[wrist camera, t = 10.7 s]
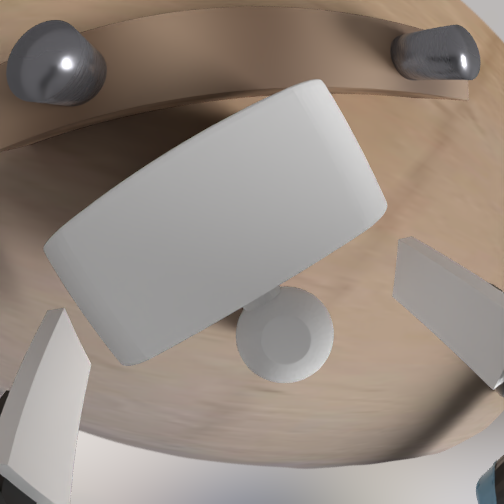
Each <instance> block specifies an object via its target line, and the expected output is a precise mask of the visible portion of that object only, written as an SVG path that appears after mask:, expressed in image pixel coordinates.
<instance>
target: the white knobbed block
mask: <svg viewBox="0 0 504 504" xmlns="http://www.w3.org/2000/svg"><path fill="white" fill-rule="evenodd" d="M386 209H387V202H386V200H385V198H384V196H383V193H382V191H381V189H380V187H379V185H378V183H377V180H376V178H375V176H374V174H373V172H372V170H371V168H370V166H369V164H368V162H367V160H366V158H365V156H364V154H363V152H362V150H361V148H360V146H359V144H358V142H357V140H356V138H355V136H354V134H353V133H352V131H351V129H350V127H349V125H348V123H347V121H346V120H345V118H344V116H343V114H342V113H341V111H340V109H339V107H338V106H337V104H336V102H335V100H334V99H333V97H332V95H331V94H330V92H329V90H328V89H327V87H326V85H325V84H324V83H323V82H322V80H320V79H314V80H309V81H305V82H302V83H299V84H296V85H293V86H291V87H288V88H286V89H284V90H282V91H280V92H277V93H275V94H273V95H271V96H269V97H267V98H265V99H263V100H261V101H259V102H257V103H254V104H252V105H250V106H248V107H246V108H245V109H243V110H241V111H239V112H237V113H235V114H233V115H231V116H229V117H227V118H225V119H223V120H222V121H220V122H218V123H216V124H214V125H212V126H211V127H209V128H207V129H205V130H203V131H202V132H200V133H198V134H196V135H195V136H193V137H191V138H190V139H188V140H186V141H185V142H183V143H181V144H180V145H178V146H176V147H175V148H173V149H171V150H170V151H168V152H166V153H165V154H163V155H162V156H160V157H158V158H157V159H155V160H154V161H152V162H151V163H149V164H148V165H146V166H144V167H143V168H141V169H140V170H138V171H137V172H135V173H134V174H132V175H131V176H129V177H128V178H127V179H125V180H124V181H122V182H121V183H119V184H118V185H116V186H115V187H114V188H112V189H111V190H109V191H108V192H107V193H105V194H104V195H102V196H101V197H100V198H98V199H97V200H96V201H94V202H93V203H92V204H90V205H89V206H88V207H86V208H85V209H84V210H82V211H81V212H80V213H78V214H77V215H76V216H75V217H73V218H72V219H71V220H69V221H68V222H67V223H66V224H64V225H63V226H62V227H61V228H60V229H59V230H57V231H56V232H55V233H54V234H53V235H52V236H51V237H50V238H49V239H48V241H47V242H46V244H45V245H44V252H45V254H46V256H47V258H48V259H49V261H50V263H51V265H52V266H53V268H54V270H55V271H56V273H57V275H58V276H59V278H60V279H61V281H62V283H63V284H64V286H65V287H66V289H67V290H68V292H69V293H70V295H71V296H72V298H73V299H74V301H75V302H76V304H77V305H78V307H79V308H80V310H81V311H82V313H83V314H84V316H85V317H86V318H87V320H88V321H89V323H90V324H91V325H92V327H93V328H94V330H95V331H96V332H97V334H98V335H99V336H100V338H101V339H102V340H103V342H104V343H105V344H106V345H107V347H108V348H109V349H110V351H111V352H112V353H113V354H114V356H115V357H116V358H117V359H118V361H119V362H120V363H121V364H122V365H125V366H131V365H136V364H139V363H142V362H144V361H147V360H149V359H151V358H153V357H155V356H156V355H158V354H160V353H162V352H164V351H166V350H167V349H169V348H171V347H173V346H175V345H177V344H178V343H180V342H182V341H184V340H186V339H187V338H189V337H191V336H193V335H195V334H196V333H198V332H200V331H202V330H203V329H205V328H207V327H209V326H210V325H212V324H214V323H216V322H217V321H219V320H221V319H223V318H224V317H226V316H228V315H230V314H231V313H233V312H235V311H236V310H238V309H240V308H242V307H243V308H244V309H243V311H242V313H241V315H240V317H239V320H238V323H237V328H236V343H237V347H238V351H239V353H240V356H241V357H242V359H243V361H244V363H245V364H246V365H247V366H248V368H249V369H251V370H252V371H253V372H254V373H255V374H257V375H258V376H260V377H262V378H264V379H266V380H269V381H272V382H277V383H291V382H296V381H300V380H303V379H305V378H307V377H309V376H310V375H312V374H313V373H315V372H316V371H317V370H318V369H319V368H320V367H321V366H322V365H323V364H324V362H325V361H326V360H327V358H328V356H329V354H330V352H331V348H332V345H333V339H334V329H333V323H332V320H331V317H330V314H329V312H328V311H327V309H326V307H325V306H324V305H323V303H322V302H321V301H320V300H319V299H318V298H317V297H315V296H314V295H313V294H311V293H309V292H307V291H305V290H302V289H300V288H296V287H288V286H286V287H280V286H279V285H280V284H282V283H283V282H285V281H287V280H288V279H290V278H292V277H293V276H295V275H297V274H298V273H300V272H301V271H303V270H305V269H306V268H308V267H310V266H311V265H313V264H314V263H316V262H318V261H319V260H321V259H322V258H324V257H326V256H327V255H329V254H330V253H332V252H333V251H335V250H337V249H338V248H340V247H341V246H343V245H344V244H346V243H348V242H349V241H351V240H352V239H354V238H355V237H357V236H358V235H360V234H361V233H363V232H364V231H366V230H367V229H369V228H370V227H371V226H372V225H374V224H375V223H376V222H377V221H378V220H379V219H380V218H381V217H382V216H383V214H384V213H385V211H386Z"/></svg>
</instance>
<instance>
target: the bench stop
mask: <svg viewBox="0 0 504 504" xmlns="http://www.w3.org/2000/svg"><path fill="white" fill-rule="evenodd" d="M479 70H480V55H479V51H478V48H477V45H476V43H475V41H474V39H473V37H472V36H471V35H470V33H469V32H468V31H467V30H466V29H465V28H463V27H462V26H459V25H450V26H444V27H438V28H432V29H427V30H423V29H419V28H416V27H412V26H408V25H404V24H400V23H396V22H392V21H387V20H383V19H378V18H373V17H368V16H362V15H356V14H350V13H343V12H336V11H328V10H318V9H307V8H293V7H263V6H251V7H222V8H207V9H196V10H187V11H179V12H171V13H165V14H158V15H152V16H147V17H141V18H136V19H132V20H127V21H122V22H118V23H114V24H110V25H106V26H102V27H98V28H95V29H91V30H88V31H84V32H81V33H79V32H78V31H77V30H76V29H75V28H74V27H73V26H72V25H70V24H69V23H67V22H64V21H60V20H51V21H46V22H43V23H40V24H38V25H36V26H34V27H33V28H31V29H30V30H28V31H27V32H26V33H25V34H24V35H23V36H22V37H21V38H20V39H19V40H18V42H17V43H16V44H15V46H14V48H13V49H12V51H11V54H10V56H9V59H8V61H6V62H4V63H2V64H0V152H2V151H6V150H10V149H14V148H18V147H22V146H27V145H30V144H33V143H36V142H39V141H41V140H44V139H47V138H50V137H53V136H56V135H59V134H63V133H66V132H69V131H72V130H76V129H79V128H83V127H86V126H90V125H93V124H97V123H101V122H105V121H109V120H113V119H117V118H121V117H125V116H130V115H134V114H139V113H144V112H148V111H153V110H159V109H164V108H170V107H175V106H181V105H187V104H194V103H201V102H208V101H216V100H224V99H233V98H243V97H255V96H268V95H273V94H275V93H277V92H280V91H282V90H284V89H286V88H288V87H291V86H293V85H296V84H299V83H302V82H305V81H309V80H314V79H320V80H322V82H323V83H324V84H325V85H326V87H327V89H328V90H329V92H330V93H332V94H370V95H387V96H400V97H411V98H431V99H451V100H465V101H469V91H468V80H473V79H475V78H476V77H477V75H478V73H479Z"/></svg>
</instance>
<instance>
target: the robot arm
mask: <svg viewBox="0 0 504 504" xmlns="http://www.w3.org/2000/svg"><path fill="white" fill-rule="evenodd" d="M392 297H394V298H395V299H396V300H397V301H398V302H399V303H400V304H402V305H403V306H404V307H405V308H406V309H407V310H408V311H410V312H411V313H412V314H413V315H414V316H415V317H416V318H417V319H418V320H420V321H421V322H422V323H423V324H424V325H425V326H426V327H427V328H428V329H429V330H431V331H432V332H433V333H434V334H435V335H436V336H437V337H438V338H439V339H440V340H441V341H443V342H444V343H445V344H446V345H447V346H448V347H449V348H450V349H451V350H452V351H453V352H454V353H455V354H456V355H457V356H458V357H459V358H461V359H462V360H463V361H464V362H465V363H466V364H467V365H468V366H469V367H470V368H471V369H472V370H473V371H474V372H475V373H476V374H477V375H478V376H479V377H480V378H481V379H482V380H483V381H484V382H485V383H486V384H487V385H488V386H489V387H490V388H491V389H492V390H495V391H496V392H497V393H498V394H499V395H500V396H502V397H504V293H503V292H502V290H500V289H499V288H497V287H496V286H494V285H493V284H490V283H488V282H486V281H485V280H483V279H482V278H480V277H479V276H477V275H475V274H474V273H472V272H471V271H469V270H468V269H466V268H464V267H463V266H461V265H460V264H458V263H456V262H455V261H453V260H451V259H450V258H448V257H447V256H445V255H443V254H442V253H440V252H438V251H436V250H435V249H433V248H431V247H430V246H428V245H426V244H424V243H423V242H421V241H419V240H418V239H416V238H414V237H412V236H411V237H407V238H403V239H399V240H398V252H397V262H396V272H395V280H394V288H393V296H392ZM90 368H91V363H90V361H89V359H88V357H87V355H86V353H85V351H84V349H83V347H82V345H81V343H80V341H79V339H78V337H77V335H76V332H75V330H74V328H73V326H72V324H71V321H70V319H69V317H68V315H67V312H66V310H65V308H60V309H54V310H48V311H47V313H46V315H45V317H44V319H43V321H42V322H41V324H40V326H39V328H38V330H37V332H36V334H35V336H34V338H33V340H32V342H31V345H30V347H29V349H28V351H27V353H26V355H25V357H24V359H23V362H22V364H21V366H20V368H19V371H18V373H17V375H16V378H15V380H14V382H13V385H12V387H11V390H10V391H6V392H5V393H4V394H3V396H2V397H1V398H0V504H70V501H71V487H72V476H73V467H74V458H75V451H76V444H77V437H78V431H79V424H80V418H81V413H82V407H83V402H84V397H85V392H86V387H87V382H88V377H89V373H90ZM476 495H477V500H478V504H504V455H503V456H502V457H501V458H500V459H499V460H498V461H496V462H494V464H493V466H492V467H491V468H490V469H489V470H488V471H487V472H486V473H485V474H484V475H483V476H482V477H481V478H480V479H479V481H478V483H477V486H476Z"/></svg>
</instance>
